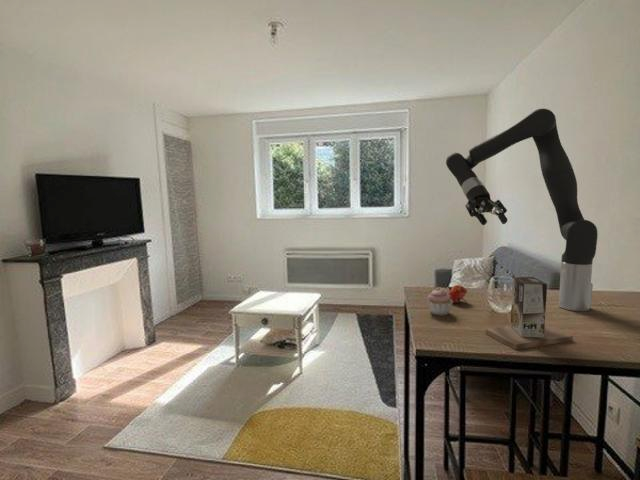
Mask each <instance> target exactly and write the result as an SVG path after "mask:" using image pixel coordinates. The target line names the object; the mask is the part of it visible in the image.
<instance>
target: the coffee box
mask: <svg viewBox="0 0 640 480" xmlns="http://www.w3.org/2000/svg"><path fill="white" fill-rule="evenodd" d="M511 281H512V282H511V303H510V305H511V309H510V311H511V312H510V326H511V327H512V328H513V329H514V330H515V331H516V332H517V333H518V334H519V335H520V336H522V337H536V338H544V329H545V325H546V310H547V309H546V307H547V292H548V290H547V289H548V283H546V282H544V281H542V280H540V279H538V278H535V277H534V276H520V277H516V276H515V277H512V280H511Z"/></svg>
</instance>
